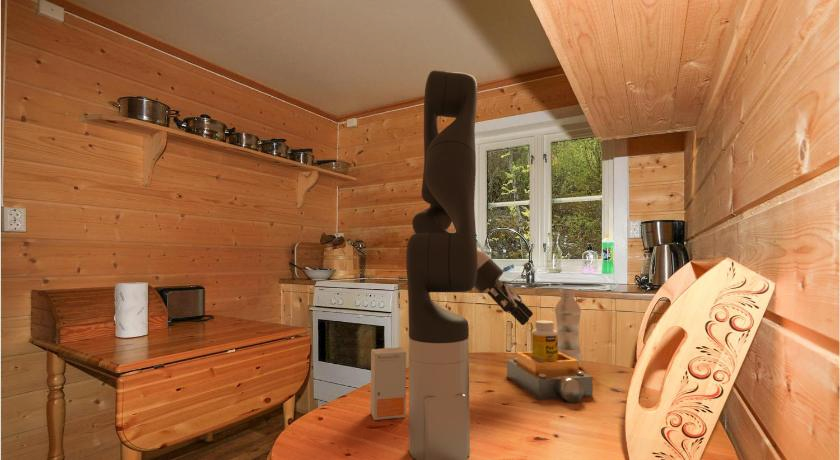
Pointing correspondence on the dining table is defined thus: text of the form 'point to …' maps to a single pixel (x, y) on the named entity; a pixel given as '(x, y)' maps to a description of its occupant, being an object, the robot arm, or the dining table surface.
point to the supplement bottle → (544, 341)
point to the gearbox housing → (550, 377)
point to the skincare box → (388, 383)
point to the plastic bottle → (568, 324)
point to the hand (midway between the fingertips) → (528, 319)
